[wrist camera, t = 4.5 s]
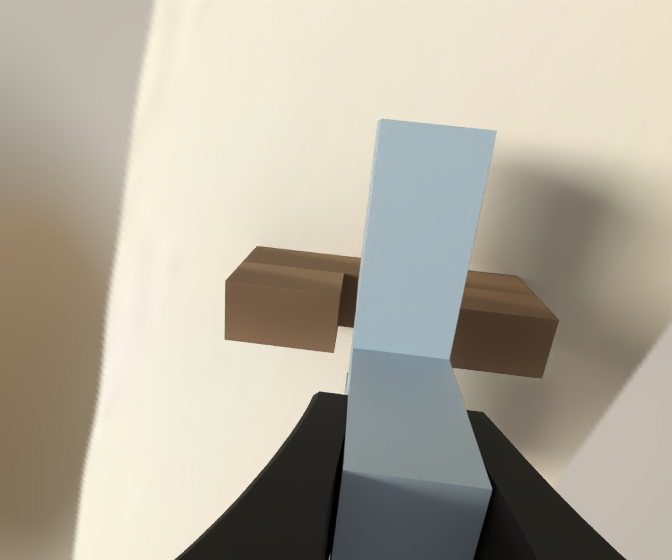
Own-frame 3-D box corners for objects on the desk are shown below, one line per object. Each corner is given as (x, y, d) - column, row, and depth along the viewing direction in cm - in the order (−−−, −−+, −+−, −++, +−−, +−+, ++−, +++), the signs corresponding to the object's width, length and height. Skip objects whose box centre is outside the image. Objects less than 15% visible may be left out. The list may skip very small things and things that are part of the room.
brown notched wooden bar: (505, 323, 18) (541, 378, 14) (255, 294, 18) (224, 339, 14) (517, 276, 17) (559, 320, 13) (256, 246, 17) (225, 280, 14)
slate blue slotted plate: (391, 493, 16) (407, 800, 9) (333, 485, 16) (302, 784, 9) (455, 128, 12) (588, 135, 4) (377, 120, 12) (388, 116, 5)
